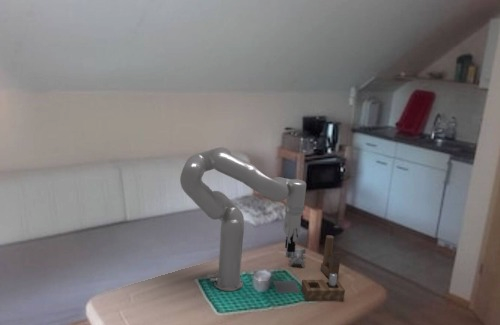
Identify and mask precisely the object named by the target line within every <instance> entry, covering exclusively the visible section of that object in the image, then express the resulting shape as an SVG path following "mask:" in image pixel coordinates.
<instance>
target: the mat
mask: <svg viewBox="0 0 500 325" xmlns="http://www.w3.org/2000/svg"><path fill="white" fill-rule="evenodd" d="M272 283H273V285H274V287H275V288H274V289H275V290H276V293H278V294H281V293H284V294H286V293H289V294H291V293H293V294H294V293H295V294H296V293H297V294H298V293H301V291H300V289H299V287H298V285H297V283H296V281H295V280H272Z"/></svg>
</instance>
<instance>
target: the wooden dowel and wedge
mask: <svg viewBox="0 0 500 325" xmlns="http://www.w3.org/2000/svg"><path fill="white" fill-rule="evenodd" d="M334 239H335V237H334V236H333V235H329V234H327V235H326V236H325V243H324V249H323V250H324V251H323V258H322V259H323V260H322V263H321V264H320V271H321V272H322V273H323V274H324V275H325V276H326V277H327V279H329V278H330V273H336V274H337V280H338V281H339V273H340V263H341V257H342V251H334V252H333V248H334Z"/></svg>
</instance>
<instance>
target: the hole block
mask: <svg viewBox="0 0 500 325" xmlns="http://www.w3.org/2000/svg"><path fill="white" fill-rule="evenodd" d="M328 286H329V279H302V280H301V286H300V290H301V292H302V294H303V297H304V299H305V301H306V302H309V301H310V302H315V301H316V302H319V301H320V302H321V301H322V302H323V301H324V302H325V301H327V302H328V301H331V302H332V301H335V302H336V301H338V302H344V301H345V300H344V299H345V292H346V290H345V288H344V287H343V285H342V284H341V282H340V281H339V279H338V280H337V281H336V288H329V287H328Z"/></svg>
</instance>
